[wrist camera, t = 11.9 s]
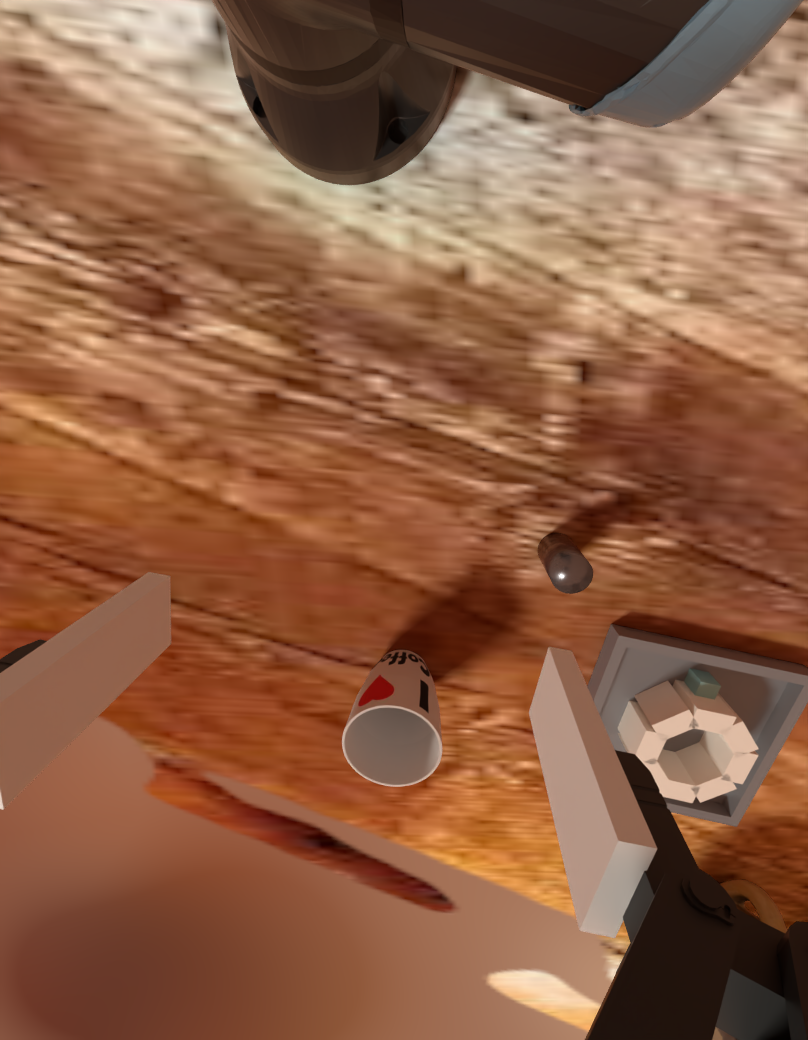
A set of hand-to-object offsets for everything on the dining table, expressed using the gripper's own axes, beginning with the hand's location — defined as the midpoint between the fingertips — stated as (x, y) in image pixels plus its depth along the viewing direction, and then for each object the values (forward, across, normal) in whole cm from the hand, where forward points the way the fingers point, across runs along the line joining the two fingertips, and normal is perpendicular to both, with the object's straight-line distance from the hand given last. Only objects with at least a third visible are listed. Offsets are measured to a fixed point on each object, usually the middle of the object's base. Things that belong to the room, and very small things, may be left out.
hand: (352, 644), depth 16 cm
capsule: (+26, +14, -4) cm, 30 cm away
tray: (+26, +29, -20) cm, 44 cm away
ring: (+25, +29, -20) cm, 44 cm away
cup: (+26, +2, -20) cm, 33 cm away
